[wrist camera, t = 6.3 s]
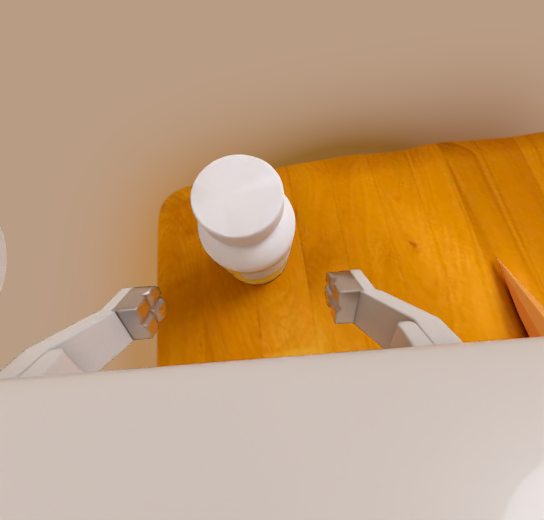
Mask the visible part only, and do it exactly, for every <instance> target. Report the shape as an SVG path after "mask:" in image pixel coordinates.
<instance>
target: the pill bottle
mask: <svg viewBox="0 0 544 520" xmlns="http://www.w3.org/2000/svg"><path fill="white" fill-rule="evenodd" d="M191 207H192V210H193V213H194V215H195V217H196V219H197V221H198V233H199V237H200V240H201V243H202V245H203V247H204V249H205V251H206V252H207V253H208V255H209V256H210V257H211V258H212V259H213V260H214V261H215V262H217V263H218V264H219V265H220V266H222V267H223V268H224V269H225V270H227V271H228V272H229V273H231V274H232V275H233V276H234V277H236V278H237V279H238V280H240V281H242V282H244V283H247V284H252V285H261V284H266V283H269V282H271V281H273V280H274V279H276V278H277V277H278V276H279V275H280V274H281V273H282V272H283V270H284V268H285V267H286V264H287V261H288V257H289V253H290V250H291V246H292V242H293V238H294V233H295V215H294V211H293V208H292V206H291V204H290V202H289V200H288V198H287V197H286V196H285V195H284V189H283V184H282V181H281V179H280V177H279V175H278V174H277V172H276V171H275V170H274V169H273V168H272V167H271V166H270V165H269V164H268V163H266V162H265V161H263V160H261V159H259V158H256V157H252V156H248V155H230V156H226V157H222V158H220V159H218V160H215V161H213V162H212V163H210V164H209V165H208V166H207V167H205V168H204V169H203V170H202V171H201V172H200V174H199V175H198V176H197V178H196V180H195V182H194V184H193V187H192V190H191Z"/></svg>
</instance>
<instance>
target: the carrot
mask: <svg viewBox="0 0 544 520" xmlns="http://www.w3.org/2000/svg"><path fill="white" fill-rule="evenodd" d="M496 258H497V257H496ZM497 261H498V263H499V266H500V269H501V271H502V274H503V276H504V279H505V281H506V284H507V286H508V289H509V291H510V294H511V296H512V299H513V302H514V304H515V307H516V309H517V312H518V314H519V316H520V318H521V320H522V323H523V325H524V327H525V329H526V331H527V333H528V335H529V338H530V337H542V336H544V307H543V306H542V305H541V304H540V303H539V302H538V301H537V299H536V298H535V297H534V296H533V295H532V294H531V293H530V292H529V291H528V290H527V289H526V288H525V287H524V286H523V285H522V284H521V283H520V282H519V281H518V279H517V278H516V277H515V276H514V275H513V274H512V273H511V272H510V271H509V270H508V269H507V268H506V267H505V266H504V265H503V264H502V263H501V262H500V261H499V259H498V258H497Z"/></svg>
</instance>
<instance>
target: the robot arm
mask: <svg viewBox="0 0 544 520" xmlns="http://www.w3.org/2000/svg"><path fill="white" fill-rule="evenodd" d="M326 281H327V283H328V284H327V286H326V287H325V298H326V302H327V305H328V306H329V307H330V308H331V315H332V317H333V320H334V322H335V324H340V323H354V324H355V325H356V326H357V327H359V328H360V329H361V330H362V331H363V332H365V333H366V334H367V335H368V336H369V337H371V338H372V339H373V340H374V341H375V342H377V343H378V344H379V345H380V346H381V347H383V348H384V349H377V350H364V351H352V352H339V353H327V354H314V355H301V356H288V357H275V358H263V359H250V360H237V361H224V362H212V363H199V364H186V365H174V366H161V367H149V368H136V369H123V370H110V371H100V370H101V369H102V368H103V367H105V366H106V365H107V364H108V363H109V362H110V361H111V360H113V359H114V358H115V357H116V356H117V355H118V354H120V353H121V352H122V351H123V350H124V349H125V348H126V347H128V346H129V345H130V344H131V343H132V342H133V340H141V339H150V338H153V336H154V335H155V333H156V331H157V329H158V328H159V324H158V323H159V322H160V321H161V320H163V319H164V317H165V315H166V311H167V305H166V302H165V300H164V299H163V298H161V297H160V295H161V291H160V289H159V287H157V286H148V287H132V288H123V289H121V290H120V291H119V292H118V293H117V294H116V295H115V296H114V297H113V298H112V299H111V300H110V301H109V302H108V303H107V304H106V305H105V306H104V307H103V308H102V309H101V310H100V311H99V312H96V313H93V314H91V315H89V316H87V317H86V318H84V319H82V320H80V321H78V322H76V323H74V324H72V325H71V326H69V327H67V328H65V329H63V330H61V331H59V332H57V333H56V334H54V335H52V336H50V337H48V338H46V339H44V340H42V341H41V342H39V343H37V344H35V345H33V346H31V347H29V348H27V349H26V350H24V351H23V352H21V353H20V354H19V355H18V356H17V357H15V358H14V359H13V360H12V361H11V362H10V363H9V364H7V365H6V366H5V367H4V368H3V369H2V370H0V520H544V336H542V337H530V338H517V339H504V340H491V341H479V342H466V343H463V342H462V341H461V340H460V339H459V338H458V337H457V336H456V335H455V334H454V333H453V332H452V331H451V330H450V329H449V328H448V327H447V326H446V325H445V324H444V323H443V322H442V321H441V320H440V319H439V318H438V317H436V316H434V315H432V314H429V313H427V312H425V311H423V310H421V309H419V308H417V307H415V306H413V305H411V304H408V303H406V302H404V301H402V300H400V299H398V298H396V297H394V296H392V295H390V294H387V293H385V292H383V291H381V290H376V289H375V288H374V287H373V285H372V284H371V283H370V281H369V280H368V279H367V278H366V276H365V275H364V274H363V272H362V271H361V270H359V269H355V270H348V271H338V272H327V274H326Z"/></svg>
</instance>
